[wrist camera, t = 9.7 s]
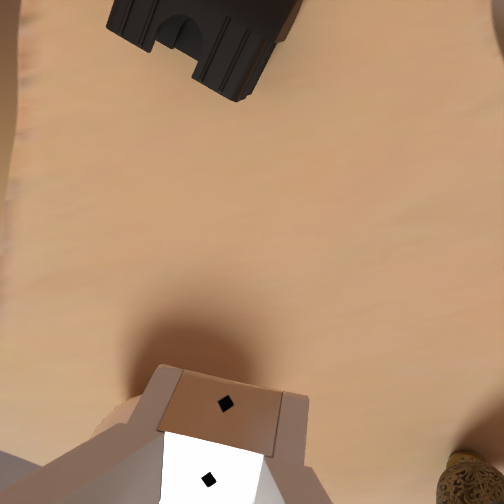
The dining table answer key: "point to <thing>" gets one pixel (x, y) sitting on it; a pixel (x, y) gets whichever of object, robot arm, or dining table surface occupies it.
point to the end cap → (210, 35)
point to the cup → (470, 481)
